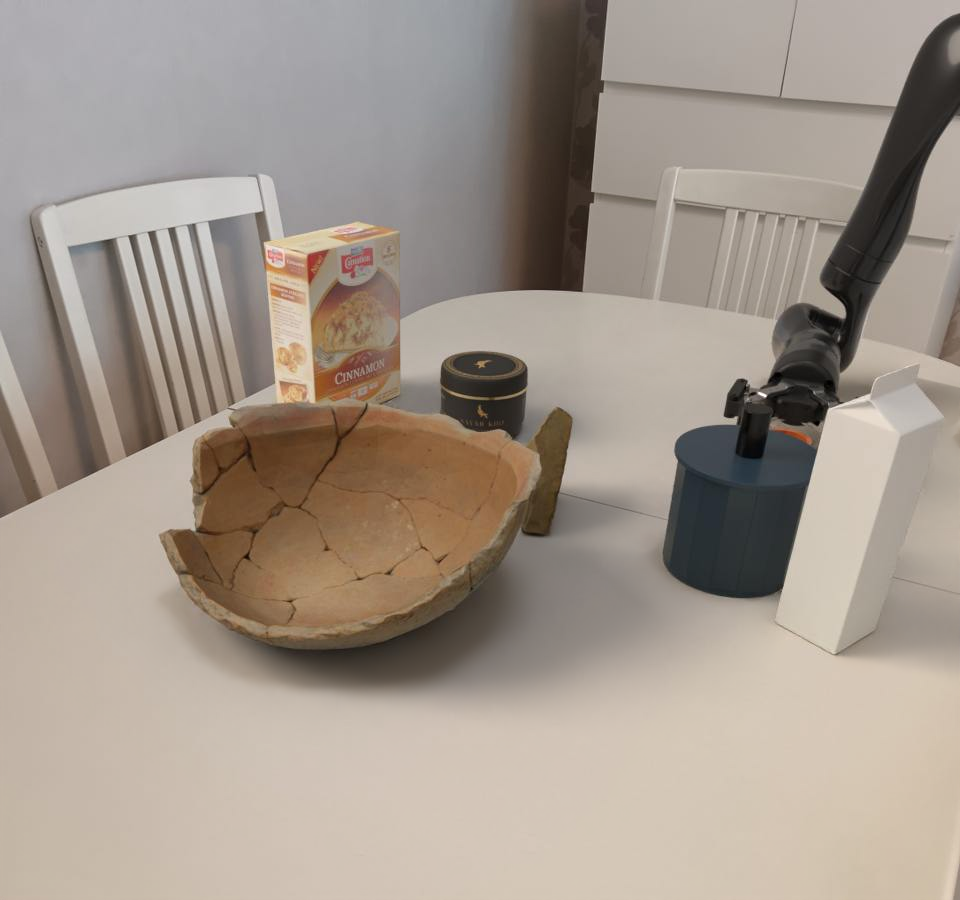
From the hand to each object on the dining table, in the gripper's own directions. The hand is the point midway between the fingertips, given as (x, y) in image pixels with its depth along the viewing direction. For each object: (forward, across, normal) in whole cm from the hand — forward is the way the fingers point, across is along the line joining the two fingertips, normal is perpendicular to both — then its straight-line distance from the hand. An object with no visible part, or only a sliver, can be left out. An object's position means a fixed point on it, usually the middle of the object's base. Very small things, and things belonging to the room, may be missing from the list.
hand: (788, 433), depth 97 cm
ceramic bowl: (+34, -32, +7) cm, 47 cm away
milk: (+23, +7, +7) cm, 25 cm away
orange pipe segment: (+4, 0, +7) cm, 8 cm away
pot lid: (+16, -3, -4) cm, 17 cm away
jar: (-4, -34, +7) cm, 35 cm away
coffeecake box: (-3, -52, +7) cm, 53 cm away
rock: (+14, -23, +7) cm, 27 cm away
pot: (+16, -3, +7) cm, 18 cm away
